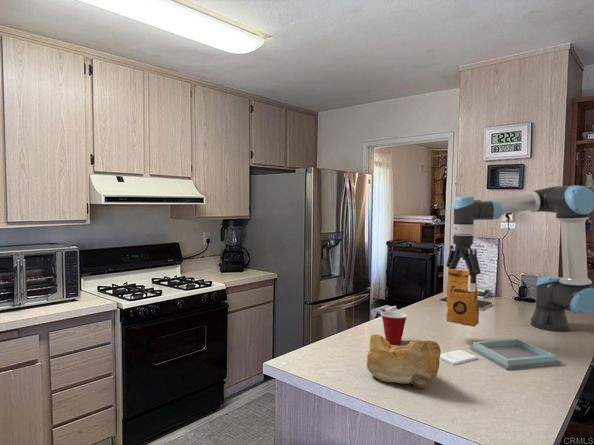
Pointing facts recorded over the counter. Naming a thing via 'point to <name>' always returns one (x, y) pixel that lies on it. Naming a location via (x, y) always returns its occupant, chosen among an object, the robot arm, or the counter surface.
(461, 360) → the external hard drive
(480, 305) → the hardcover book
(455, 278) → the coffee package
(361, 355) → the counter surface
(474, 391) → the counter surface
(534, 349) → the base
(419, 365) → the rough brown rock
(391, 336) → the plastic cup
